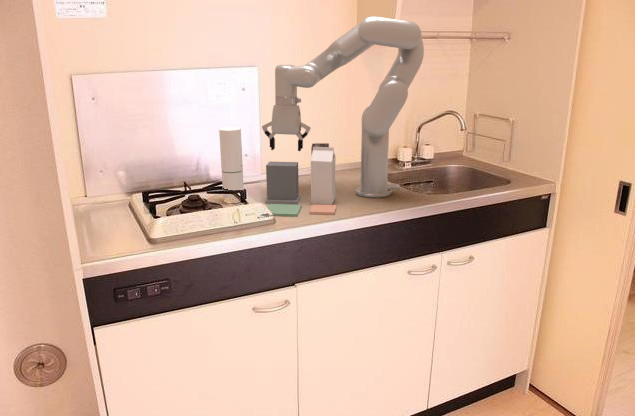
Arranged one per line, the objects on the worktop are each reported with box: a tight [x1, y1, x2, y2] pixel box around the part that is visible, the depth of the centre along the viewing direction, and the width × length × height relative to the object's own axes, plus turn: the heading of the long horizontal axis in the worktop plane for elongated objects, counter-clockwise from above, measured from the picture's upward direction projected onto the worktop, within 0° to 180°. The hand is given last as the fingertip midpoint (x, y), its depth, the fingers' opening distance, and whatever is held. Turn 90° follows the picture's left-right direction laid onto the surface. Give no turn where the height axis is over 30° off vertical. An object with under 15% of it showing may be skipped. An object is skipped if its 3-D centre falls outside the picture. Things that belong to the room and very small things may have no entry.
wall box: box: [265, 161, 302, 205], centre depth 183 cm, size 11×8×13 cm
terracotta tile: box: [308, 204, 337, 216], centre depth 174 cm, size 8×8×1 cm
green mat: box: [266, 203, 303, 218], centre depth 174 cm, size 11×10×1 cm
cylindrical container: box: [218, 126, 245, 198], centre depth 182 cm, size 7×7×25 cm
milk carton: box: [310, 146, 336, 205], centre depth 181 cm, size 7×7×19 cm
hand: (286, 149), depth 191 cm, fingers open, 9 cm apart
